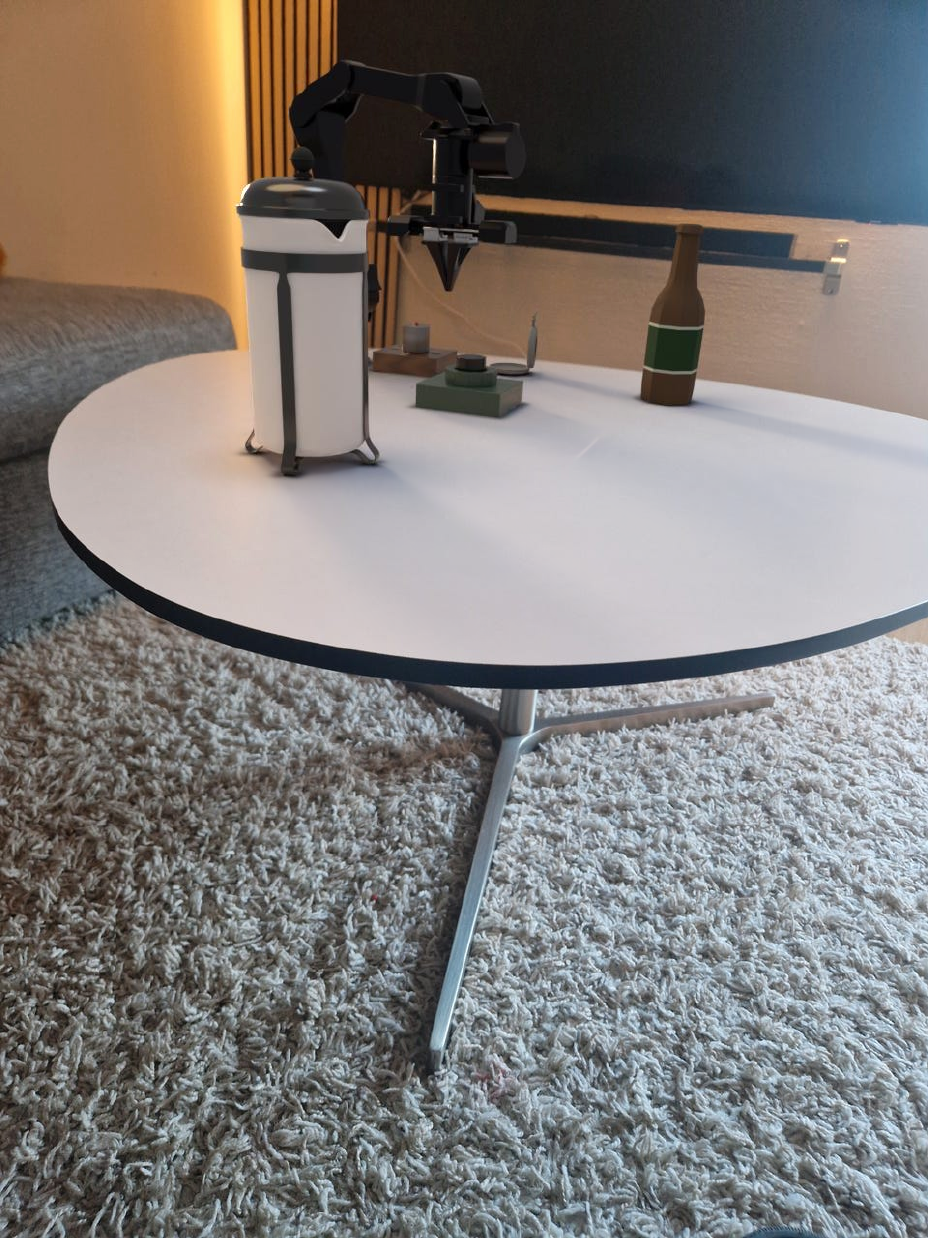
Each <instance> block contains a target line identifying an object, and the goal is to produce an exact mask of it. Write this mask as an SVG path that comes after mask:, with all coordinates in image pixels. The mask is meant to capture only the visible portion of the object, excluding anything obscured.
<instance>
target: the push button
mask: <svg viewBox="0 0 928 1238" xmlns="http://www.w3.org/2000/svg"><path fill="white" fill-rule="evenodd" d="M486 366H487V356H486V355H483V354H476V353H460V354H457V369H456V370H459V371H465V372H484V371H486Z"/></svg>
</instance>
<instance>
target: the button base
mask: <svg viewBox="0 0 928 1238" xmlns="http://www.w3.org/2000/svg"><path fill="white" fill-rule="evenodd" d="M456 369H457V365H450V366H447V367H445V372H443V373H440V374H438V375H436V376H433V377H427V378H426V379H424V380H421V381H419V382H416V383H415V408H421V409H428V410H436V411H444V412H450V413H460V414H465V415H466V414H468V415H474V416H483V417H490V418H496V419H497V418H501V417H503V416H504V415H505V414H507V413H509V412H510V411H512V410H513V409H515V408H517V407H519V406H520V405H522V404H523V403H522V401H523V390H524V389H523V387H524V380H519V379H518V380H517V379H509V378H500V377H498V373H497V370H496V369H495V368H492V367H489V365H486V371H484V372H465V371H459V370H456Z"/></svg>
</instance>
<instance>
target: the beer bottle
mask: <svg viewBox="0 0 928 1238" xmlns="http://www.w3.org/2000/svg"><path fill="white" fill-rule="evenodd" d="M674 232H675V233H676V238H675V239H676V240H675V245H674V248H673V249H674V250H673V254H672V259H671V265H670V271H669V275H668V278H667V280H666V284H665V286H664V288H663V289H662V290H661V292H659V294H658V295H657V297H656V299H655V300H654V303H653V305H652V307H651V311H650V315H649V320H648V321H649V322H648V327H647V336H646V343H645V352H644V358H643V367H642V375H641V382H640V394H639V395H640V396H639V397H640V399H641V400H643V401H645V402H647V403H649V404H656V405H663V406H687V405H688V404H689V403H691V402H692V400H693V396H694V391H695V386H696V379H697V374H698V368H699V361H700V353H701V347H702V341H703V334H704V327H705V317H706V309H705V302H704V298H703V297H702V294H701V292H700V290H699V288H698V268H699V257H700V247H701V236H702V235H703V234H704V227H703V225H702V224H699V223H683V222H682V223H679V224H677V226H676V229H675V231H674Z"/></svg>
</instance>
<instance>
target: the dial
mask: <svg viewBox="0 0 928 1238" xmlns="http://www.w3.org/2000/svg"><path fill="white" fill-rule="evenodd" d="M401 337H402V338H401V339H402V341H401V343H402V344H401V345H402V350H403V351H404V352H409V353H427V352H429V351H430V348H431V347H430V345H431V344H430V343H431V325H430V324H426V323H419V322H418V321H417V320H416V321H415V320H413V321H412V322H410V323H409V322H408V323H407V322H406V323H403V324H402V336H401Z"/></svg>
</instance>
